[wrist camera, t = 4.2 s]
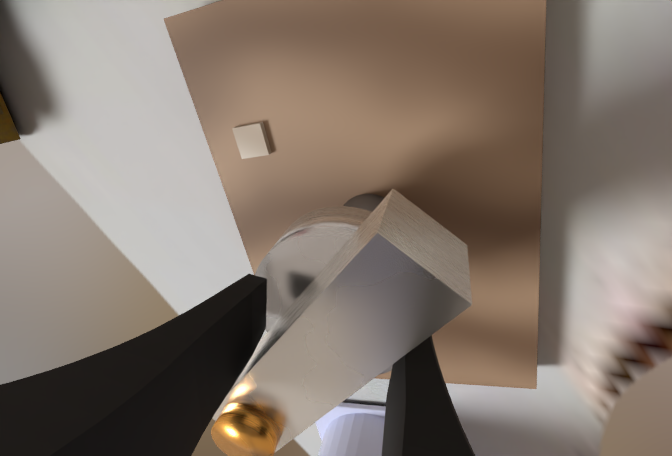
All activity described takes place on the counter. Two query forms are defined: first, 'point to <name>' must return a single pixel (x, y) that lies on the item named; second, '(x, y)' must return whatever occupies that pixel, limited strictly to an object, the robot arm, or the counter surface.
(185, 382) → the robot arm
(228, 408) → the lever with brass knob
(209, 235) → the counter surface
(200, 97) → the plate
